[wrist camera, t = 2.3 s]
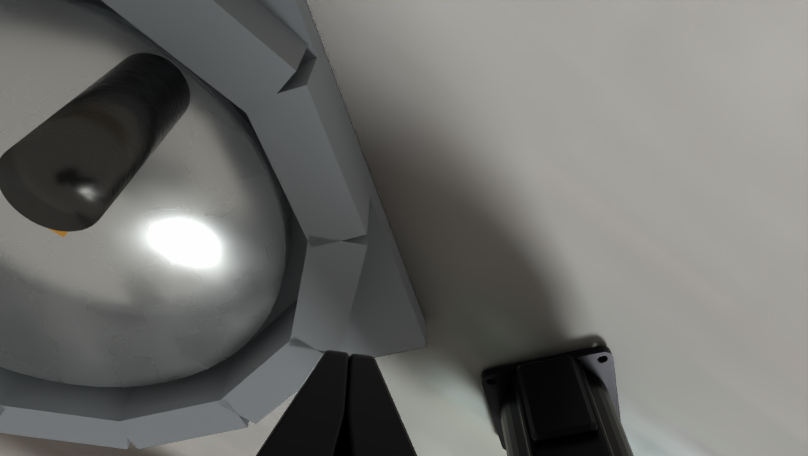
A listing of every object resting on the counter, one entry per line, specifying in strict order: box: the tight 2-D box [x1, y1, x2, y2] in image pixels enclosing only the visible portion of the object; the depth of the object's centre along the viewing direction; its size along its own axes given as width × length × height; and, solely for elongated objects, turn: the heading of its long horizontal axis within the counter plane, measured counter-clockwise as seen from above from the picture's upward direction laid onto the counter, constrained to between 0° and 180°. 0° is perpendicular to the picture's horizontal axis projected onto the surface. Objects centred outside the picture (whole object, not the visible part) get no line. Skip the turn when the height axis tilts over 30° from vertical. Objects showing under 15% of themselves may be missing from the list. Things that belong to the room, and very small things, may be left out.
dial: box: [0, 0, 291, 387], centre depth 18 cm, size 17×17×7 cm
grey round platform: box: [0, 0, 427, 449], centre depth 21 cm, size 22×22×4 cm
